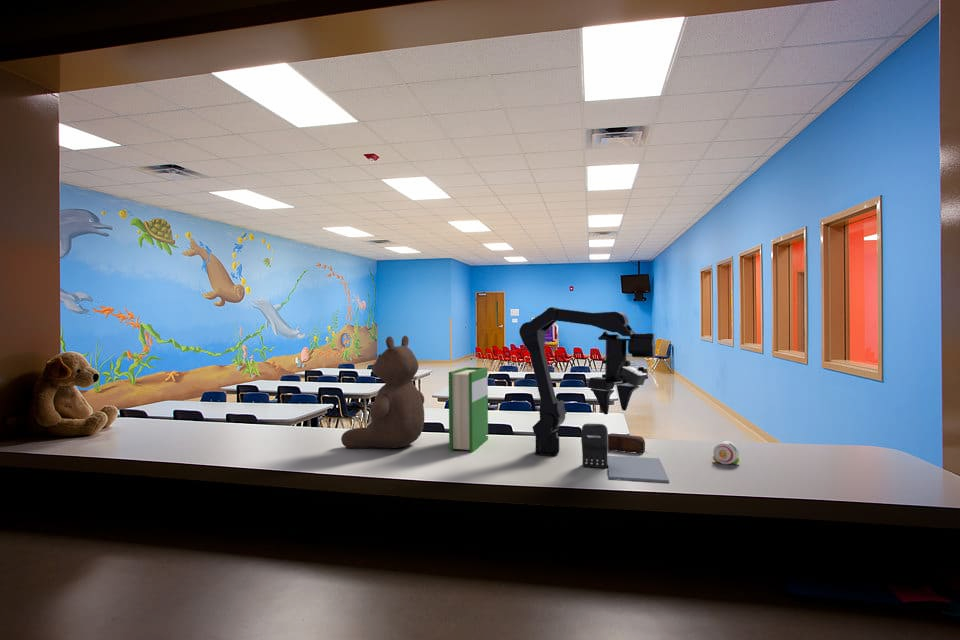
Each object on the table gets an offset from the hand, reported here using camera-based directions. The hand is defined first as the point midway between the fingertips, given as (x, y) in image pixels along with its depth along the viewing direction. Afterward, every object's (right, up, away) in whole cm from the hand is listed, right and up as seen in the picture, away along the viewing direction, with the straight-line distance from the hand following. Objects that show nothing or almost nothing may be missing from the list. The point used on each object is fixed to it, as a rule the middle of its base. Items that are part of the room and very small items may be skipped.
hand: (615, 412), depth 140 cm
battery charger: (-7, -14, -6) cm, 17 cm away
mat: (+3, -13, -8) cm, 16 cm away
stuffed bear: (-68, -15, +20) cm, 73 cm away
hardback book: (-41, -14, +19) cm, 48 cm away
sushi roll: (+30, -14, -3) cm, 33 cm away
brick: (+6, -14, +11) cm, 19 cm away
